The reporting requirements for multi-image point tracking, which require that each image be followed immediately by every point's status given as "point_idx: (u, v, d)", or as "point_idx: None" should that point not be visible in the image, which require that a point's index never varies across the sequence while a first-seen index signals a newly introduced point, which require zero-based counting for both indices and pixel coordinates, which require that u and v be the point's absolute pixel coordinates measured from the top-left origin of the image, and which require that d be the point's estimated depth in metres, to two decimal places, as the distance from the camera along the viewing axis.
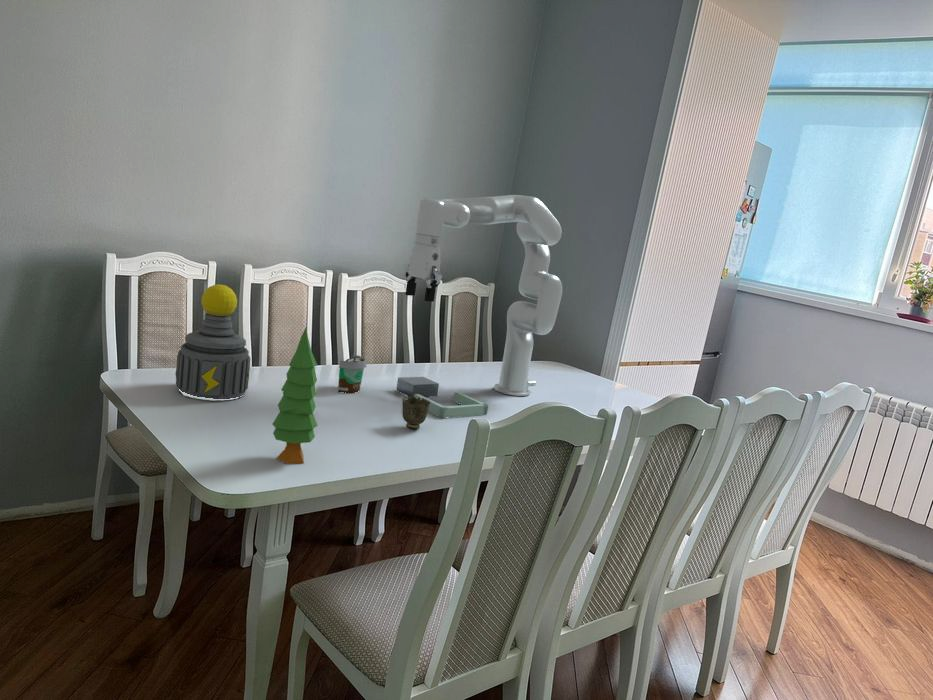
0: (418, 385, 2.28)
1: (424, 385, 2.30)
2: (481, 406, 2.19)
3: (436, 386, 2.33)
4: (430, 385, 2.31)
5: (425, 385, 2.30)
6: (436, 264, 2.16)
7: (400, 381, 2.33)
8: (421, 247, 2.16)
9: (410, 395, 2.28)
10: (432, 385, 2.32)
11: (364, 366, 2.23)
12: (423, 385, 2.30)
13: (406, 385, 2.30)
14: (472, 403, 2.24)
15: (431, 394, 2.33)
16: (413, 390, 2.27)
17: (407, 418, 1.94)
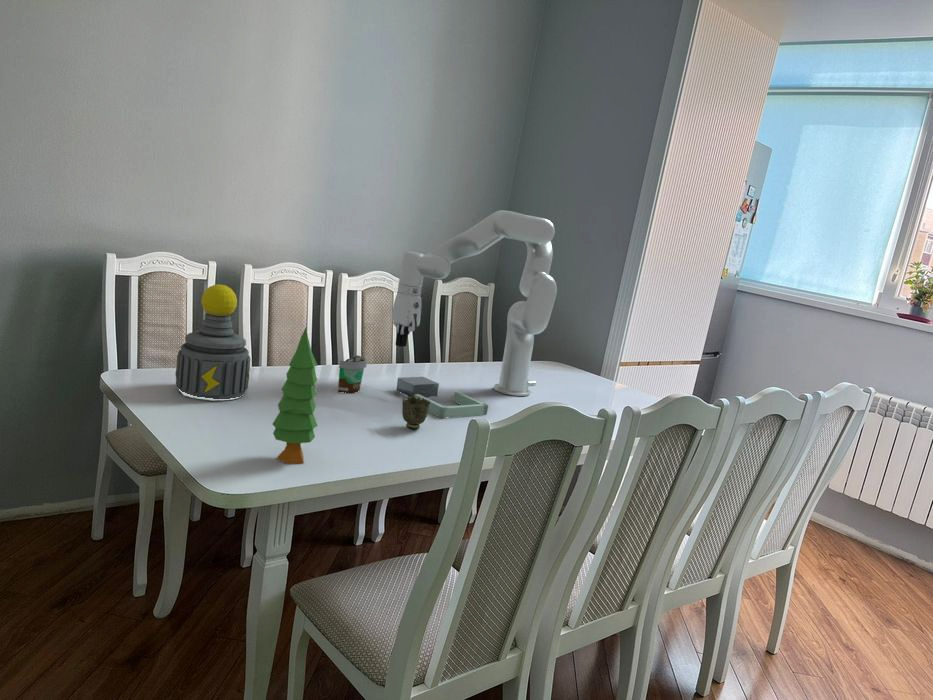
0: (418, 385, 2.28)
1: (424, 385, 2.30)
2: (481, 406, 2.19)
3: (436, 386, 2.33)
4: (430, 385, 2.32)
5: (425, 385, 2.30)
6: (417, 312, 2.34)
7: (399, 381, 2.32)
8: (403, 296, 2.35)
9: (410, 395, 2.28)
10: (432, 385, 2.32)
11: (364, 366, 2.23)
12: (423, 385, 2.30)
13: (407, 385, 2.30)
14: (472, 403, 2.24)
15: (431, 394, 2.33)
16: (413, 390, 2.27)
17: (407, 418, 1.94)
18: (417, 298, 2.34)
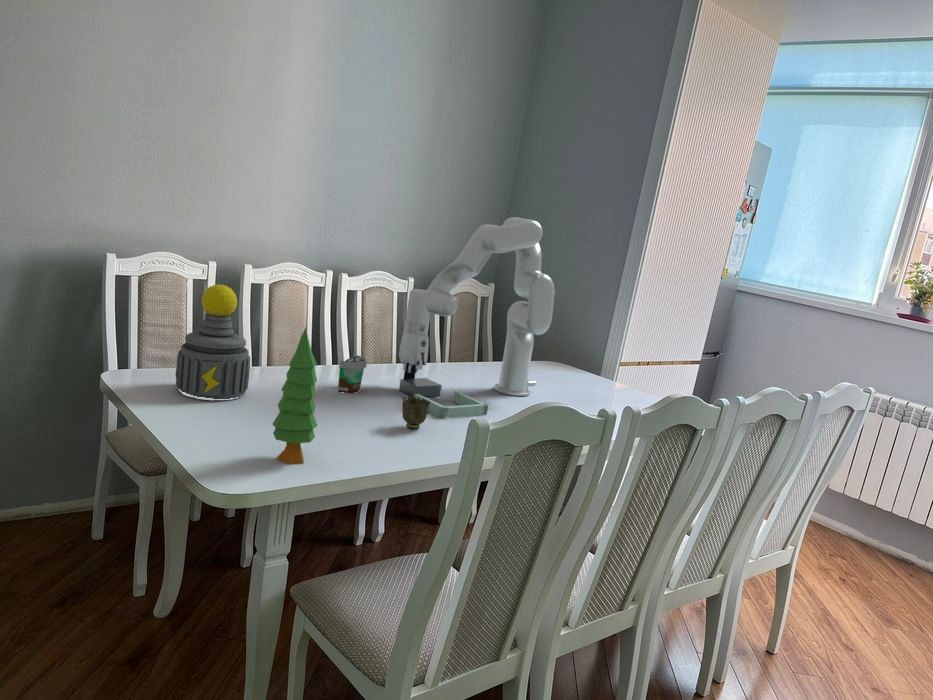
0: (421, 387, 2.27)
1: (427, 387, 2.29)
2: (481, 406, 2.19)
3: (439, 387, 2.32)
4: (433, 386, 2.30)
5: (428, 387, 2.29)
6: (424, 350, 2.32)
7: (402, 383, 2.31)
8: (410, 334, 2.32)
9: None
10: (435, 386, 2.31)
11: (364, 366, 2.23)
12: (426, 387, 2.29)
13: (409, 386, 2.28)
14: (472, 403, 2.24)
15: (434, 395, 2.32)
16: (416, 391, 2.26)
17: (407, 418, 1.94)
18: (424, 336, 2.31)
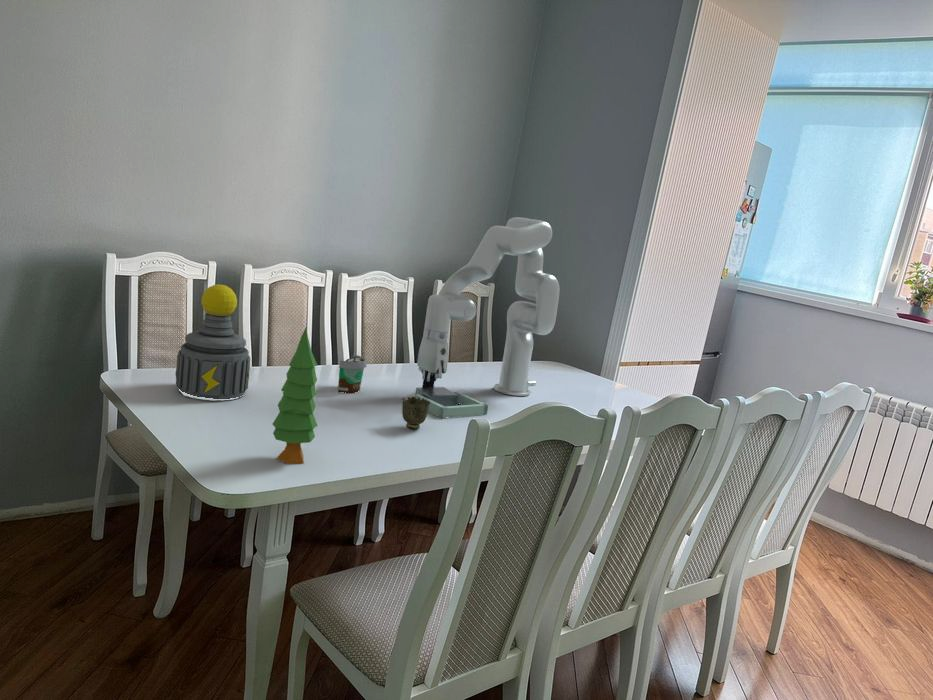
0: (435, 396, 2.19)
1: (442, 396, 2.20)
2: (481, 406, 2.19)
3: (455, 397, 2.23)
4: (449, 396, 2.22)
5: (443, 396, 2.20)
6: (444, 358, 2.24)
7: (417, 392, 2.24)
8: (429, 342, 2.24)
9: None
10: (451, 396, 2.22)
11: (364, 366, 2.23)
12: (441, 396, 2.20)
13: (424, 395, 2.21)
14: (472, 403, 2.24)
15: None
16: None
17: (407, 418, 1.94)
18: (444, 344, 2.24)
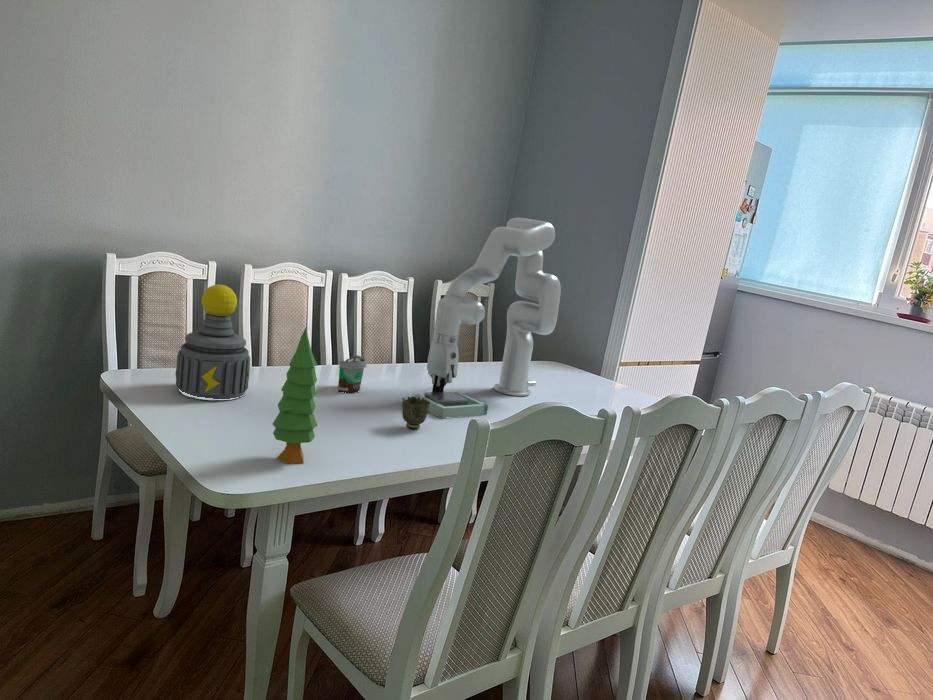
0: (445, 401, 2.15)
1: (451, 401, 2.16)
2: (481, 406, 2.19)
3: (465, 402, 2.19)
4: (458, 401, 2.18)
5: (452, 401, 2.17)
6: (454, 362, 2.21)
7: (426, 396, 2.20)
8: (439, 346, 2.21)
9: None
10: (460, 401, 2.18)
11: (364, 366, 2.23)
12: (450, 401, 2.16)
13: (433, 400, 2.17)
14: (472, 403, 2.24)
15: None
16: None
17: (407, 418, 1.94)
18: (454, 348, 2.20)
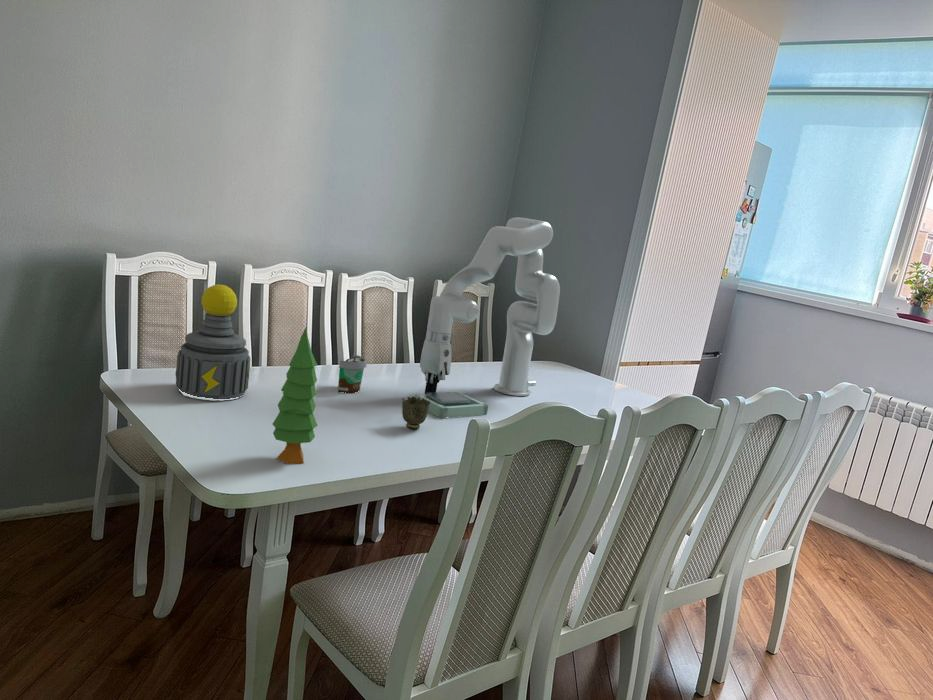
0: (447, 401, 2.15)
1: (454, 401, 2.16)
2: (481, 406, 2.19)
3: (467, 402, 2.19)
4: (460, 401, 2.17)
5: (455, 401, 2.16)
6: (447, 360, 2.23)
7: (428, 397, 2.19)
8: (432, 343, 2.24)
9: None
10: (462, 401, 2.18)
11: (364, 366, 2.23)
12: (452, 401, 2.16)
13: (435, 401, 2.16)
14: (472, 403, 2.24)
15: None
16: None
17: (407, 418, 1.94)
18: (447, 345, 2.23)
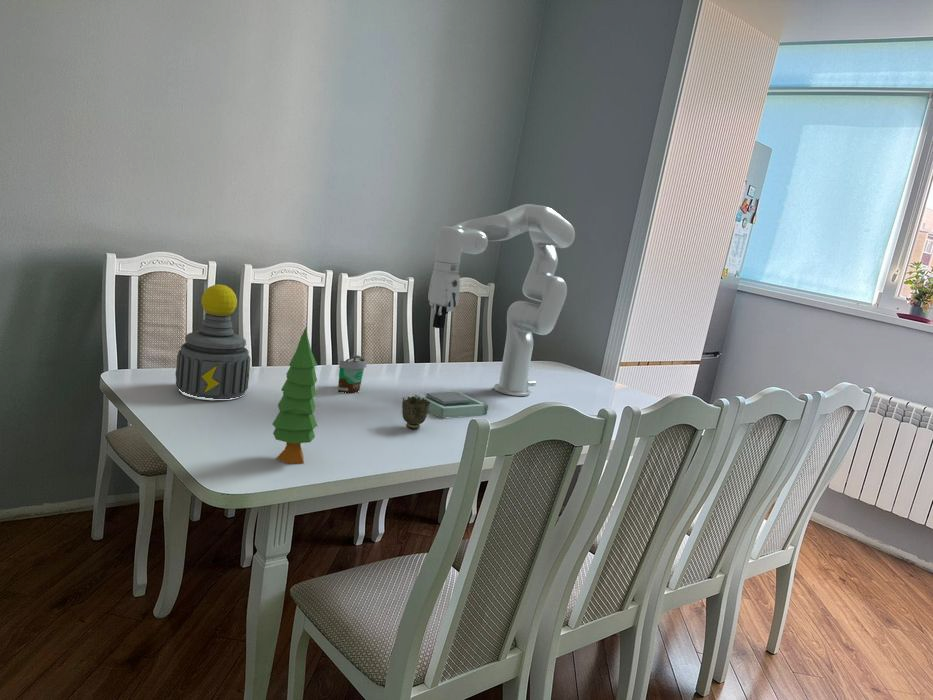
0: (448, 401, 2.15)
1: (455, 401, 2.16)
2: (481, 406, 2.19)
3: (467, 402, 2.19)
4: (461, 401, 2.18)
5: (456, 401, 2.16)
6: (455, 291, 2.20)
7: (428, 397, 2.19)
8: (441, 274, 2.20)
9: None
10: (463, 401, 2.18)
11: (364, 366, 2.23)
12: (454, 401, 2.16)
13: (436, 401, 2.16)
14: (472, 403, 2.24)
15: None
16: None
17: (407, 418, 1.94)
18: (455, 276, 2.20)
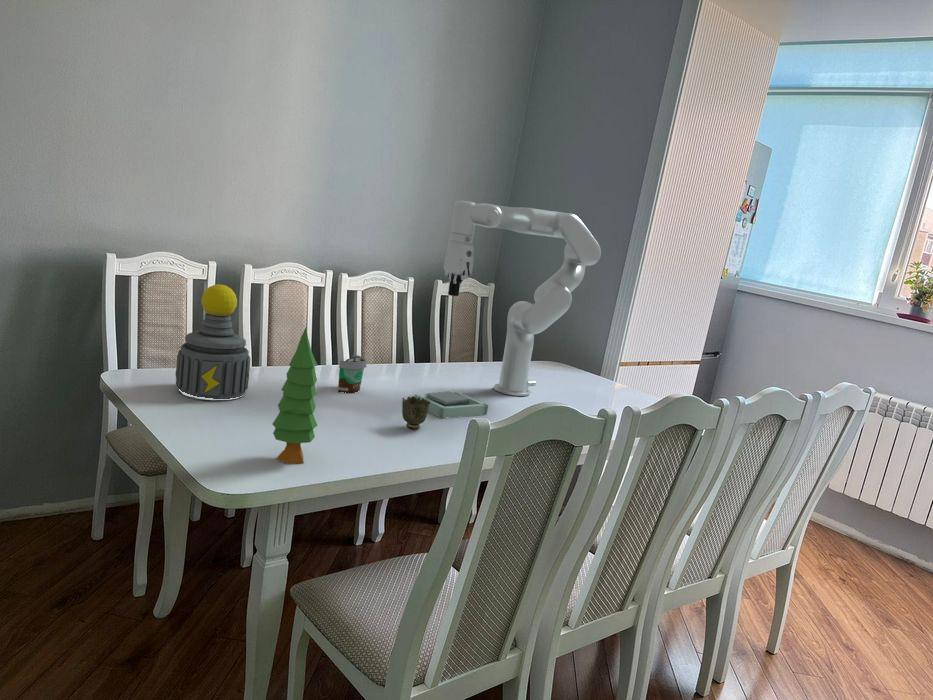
0: (450, 401, 2.15)
1: (456, 401, 2.16)
2: (481, 406, 2.19)
3: (467, 401, 2.20)
4: (461, 401, 2.18)
5: (457, 401, 2.17)
6: (469, 260, 2.37)
7: (428, 398, 2.18)
8: (456, 245, 2.37)
9: None
10: (463, 401, 2.19)
11: (364, 366, 2.23)
12: (455, 401, 2.16)
13: (437, 401, 2.16)
14: (472, 403, 2.24)
15: None
16: None
17: (407, 418, 1.94)
18: (470, 246, 2.36)
